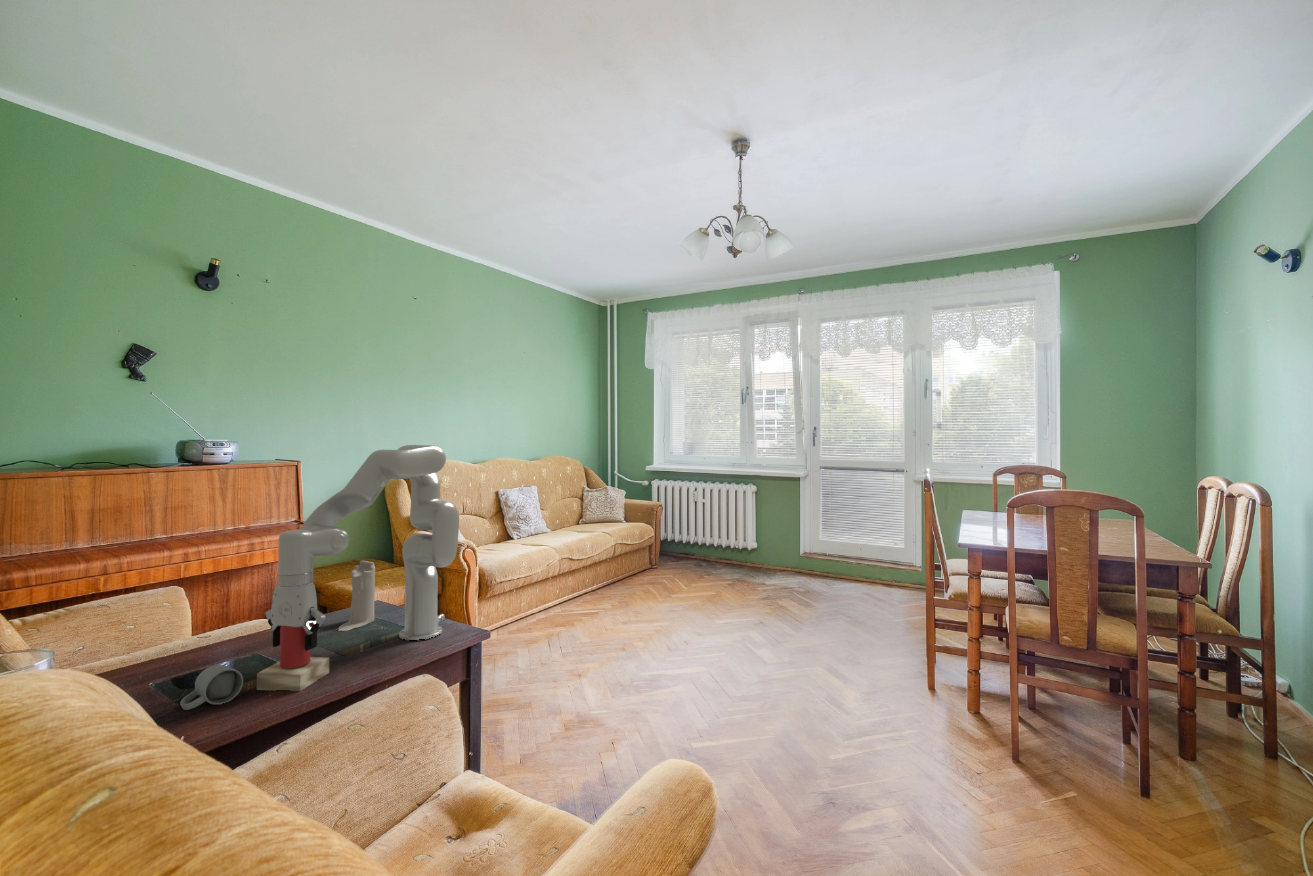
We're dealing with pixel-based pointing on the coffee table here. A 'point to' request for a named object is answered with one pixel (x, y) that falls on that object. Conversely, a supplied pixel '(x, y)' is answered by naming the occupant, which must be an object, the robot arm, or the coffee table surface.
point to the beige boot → (361, 596)
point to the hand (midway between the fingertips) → (294, 646)
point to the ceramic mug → (214, 687)
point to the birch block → (292, 675)
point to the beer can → (293, 647)
